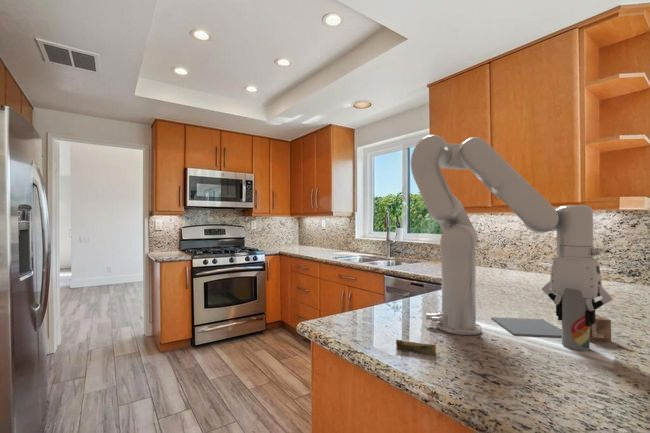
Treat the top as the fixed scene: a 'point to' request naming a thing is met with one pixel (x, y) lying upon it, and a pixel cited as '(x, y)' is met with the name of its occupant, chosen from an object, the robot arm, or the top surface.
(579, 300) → the lotion bottle
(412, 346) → the snack bar
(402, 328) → the top surface
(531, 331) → the grey mat
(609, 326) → the letter cube
